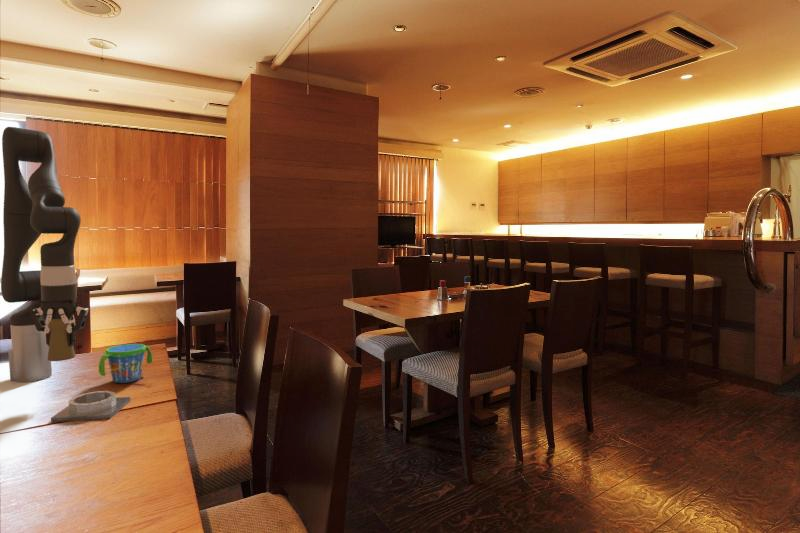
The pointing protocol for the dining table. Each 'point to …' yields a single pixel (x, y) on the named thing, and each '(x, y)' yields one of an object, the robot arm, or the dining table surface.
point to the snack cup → (125, 362)
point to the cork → (59, 342)
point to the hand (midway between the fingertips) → (61, 345)
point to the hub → (92, 407)
